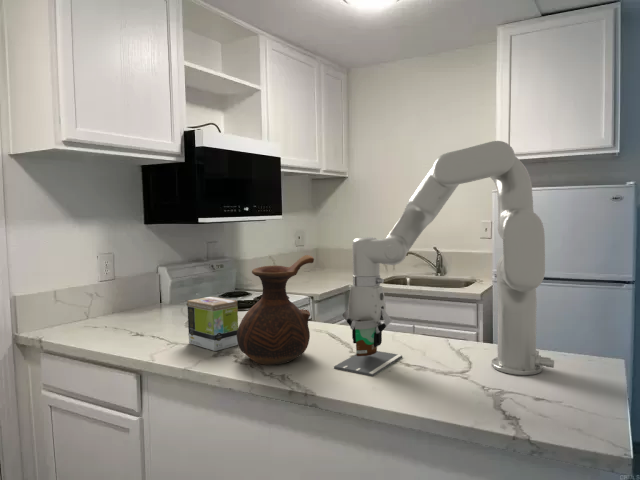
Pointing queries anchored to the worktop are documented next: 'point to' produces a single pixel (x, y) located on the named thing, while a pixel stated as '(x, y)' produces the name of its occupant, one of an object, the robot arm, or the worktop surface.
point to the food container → (365, 337)
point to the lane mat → (368, 363)
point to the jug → (275, 319)
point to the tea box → (213, 322)
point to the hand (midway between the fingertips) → (366, 343)
